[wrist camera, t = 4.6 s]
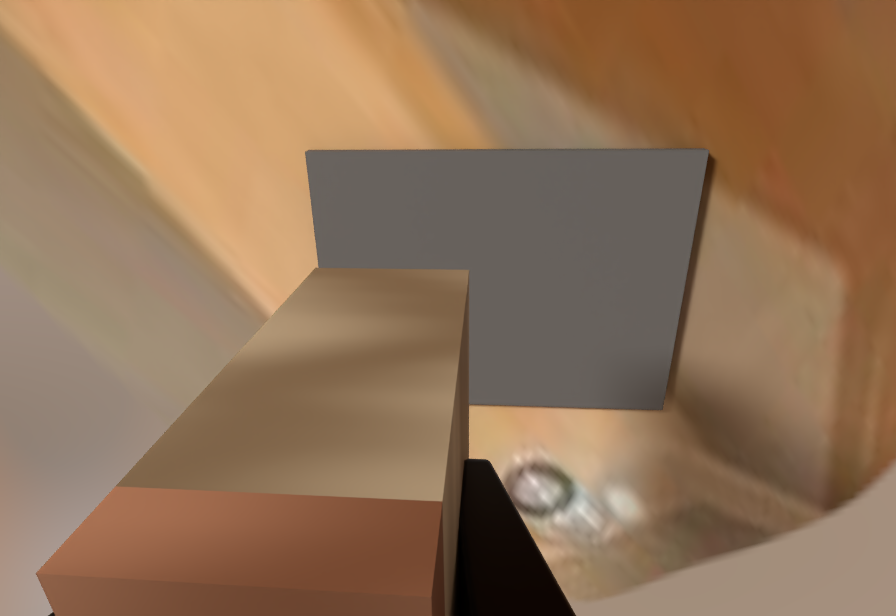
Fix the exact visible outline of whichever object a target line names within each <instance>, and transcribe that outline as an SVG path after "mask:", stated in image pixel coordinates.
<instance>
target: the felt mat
mask: <svg viewBox="0 0 896 616" xmlns="http://www.w3.org/2000/svg"><path fill="white" fill-rule="evenodd" d="M708 154H709V150H707V149H463V150H308V151H306V152H305V155H306V163H307V172H308V180H309V189H310V197H311V206H312V215H313V223H314V232H315V240H316V249H317V257H318V266H319V268H367V269H445V270H469V404H481V405H513V406H545V407H577V408H609V409H641V410H663V405H664V399H665V394H666V388H667V382H668V377H669V371H670V366H671V360H672V355H673V349H674V343H675V338H676V332H677V327H678V321H679V316H680V310H681V304H682V299H683V293H684V288H685V282H686V276H687V271H688V265H689V260H690V254H691V249H692V243H693V237H694V232H695V226H696V221H697V215H698V210H699V204H700V198H701V193H702V187H703V182H704V176H705V170H706V165H707V159H708Z"/></svg>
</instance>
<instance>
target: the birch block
mask: <svg viewBox="0 0 896 616" xmlns="http://www.w3.org/2000/svg"><path fill="white" fill-rule="evenodd" d="M466 459H469V270H445V269H367V268H315V269H314V270H313V271H312V272H311V274H310V275H309V276H308V277H307V278H306V279H305V280H304V281H303V282H302V283H301V284H300V286H299V287H298V288H297V289H296V290H295V291H294V292H293V293H292V294H291V295H290V296H289V298H288V299H287V300H286V301H285V302H284V303H283V304H282V305H281V306H280V307H279V308H278V310H277V311H276V312H275V313H274V314H273V315H272V316H271V317H270V318H269V319H268V320H267V322H266V323H265V324H264V325H263V326H262V327H261V328H260V329H259V330H258V331H257V333H256V334H255V335H254V336H253V337H252V338H251V339H250V340H249V341H248V342H247V343H246V345H245V346H244V347H243V348H242V349H241V350H240V351H239V352H238V353H237V354H236V355H235V357H234V358H233V359H232V360H231V361H230V362H229V363H228V364H227V365H226V366H225V367H224V369H223V370H222V371H221V372H220V373H219V374H218V375H217V376H216V377H215V378H214V379H213V381H212V382H211V383H210V384H209V385H208V386H207V387H206V388H205V389H204V390H203V391H202V393H201V394H200V395H199V396H198V397H197V398H196V399H195V400H194V401H193V402H192V403H191V405H190V406H189V407H188V408H187V409H186V410H185V411H184V412H183V413H182V414H181V416H180V417H179V418H178V419H177V420H176V421H175V422H174V423H173V424H172V425H171V426H170V428H169V429H168V430H167V431H166V432H165V433H164V434H163V435H162V436H161V437H160V438H159V440H158V441H157V442H156V443H155V444H154V445H153V446H152V447H151V448H150V449H149V450H148V452H147V453H146V454H145V455H144V456H143V457H142V458H141V459H140V460H139V461H138V462H137V464H136V465H135V466H134V467H133V468H132V469H131V470H130V471H129V472H128V474H127V475H126V476H125V477H124V478H123V479H122V480H121V481H120V482H119V483H118V484H117V485H116V487H115V488H114V489H113V490H112V491H111V492H110V493H109V494H108V495H107V496H106V497H105V499H104V500H103V501H102V502H101V503H100V504H99V505H98V506H97V507H96V508H95V510H94V511H93V512H92V513H91V514H90V515H89V516H88V517H87V518H86V519H85V520H84V521H83V523H82V524H81V525H80V526H79V527H78V528H77V529H76V530H75V531H74V532H73V534H72V535H71V536H70V537H69V538H68V539H67V540H66V541H65V542H64V544H62V546H61V547H60V548H59V549H58V550H57V551H56V552H55V553H54V554H53V555H52V556H51V558H50V559H49V560H48V561H47V562H46V563H45V564H44V565H43V566H42V567H41V569H40V570H39V571H38V572H37V573H36V575H37V577H38V579H39V581H40V583H41V586H42V588H43V590H44V592H45V594H46V596H47V599H48V601H49V603H50V605H51V607H52V609H53V612H54V614H55V616H460V604H459V514H460V503H461V492H462V481H463V470H464V460H466Z"/></svg>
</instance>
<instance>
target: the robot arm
mask: <svg viewBox="0 0 896 616" xmlns="http://www.w3.org/2000/svg"><path fill="white" fill-rule="evenodd" d="M459 604H460V616H576V615H575V613H574V611H573V609H572V608H571V606H570V604H569V602H568V600H567V599H566V597H565V595H564V593H563V591H562V590H561V588H560V586H559V584H558V583H557V581H556V579H555V577H554V575H553V574H552V572H551V570H550V568H549V566H548V565H547V563H546V561H545V559H544V557H543V556H542V554H541V552H540V550H539V548H538V547H537V545H536V543H535V541H534V539H533V538H532V536H531V534H530V532H529V531H528V529H527V527H526V525H525V523H524V522H523V520H522V518H521V516H520V514H519V513H518V511H517V509H516V507H515V505H514V504H513V502H512V500H511V498H510V496H509V495H508V493H507V491H506V489H505V488H504V486H503V484H502V482H501V480H500V479H499V477H498V475H497V473H496V471H495V470H494V468H493V466H492V464H491V463H490V461H488V460H486V459H466V460H464V470H463V481H462V492H461V503H460V514H459ZM48 616H55V614H54V612H53V613H51V614H50V615H48Z"/></svg>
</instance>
